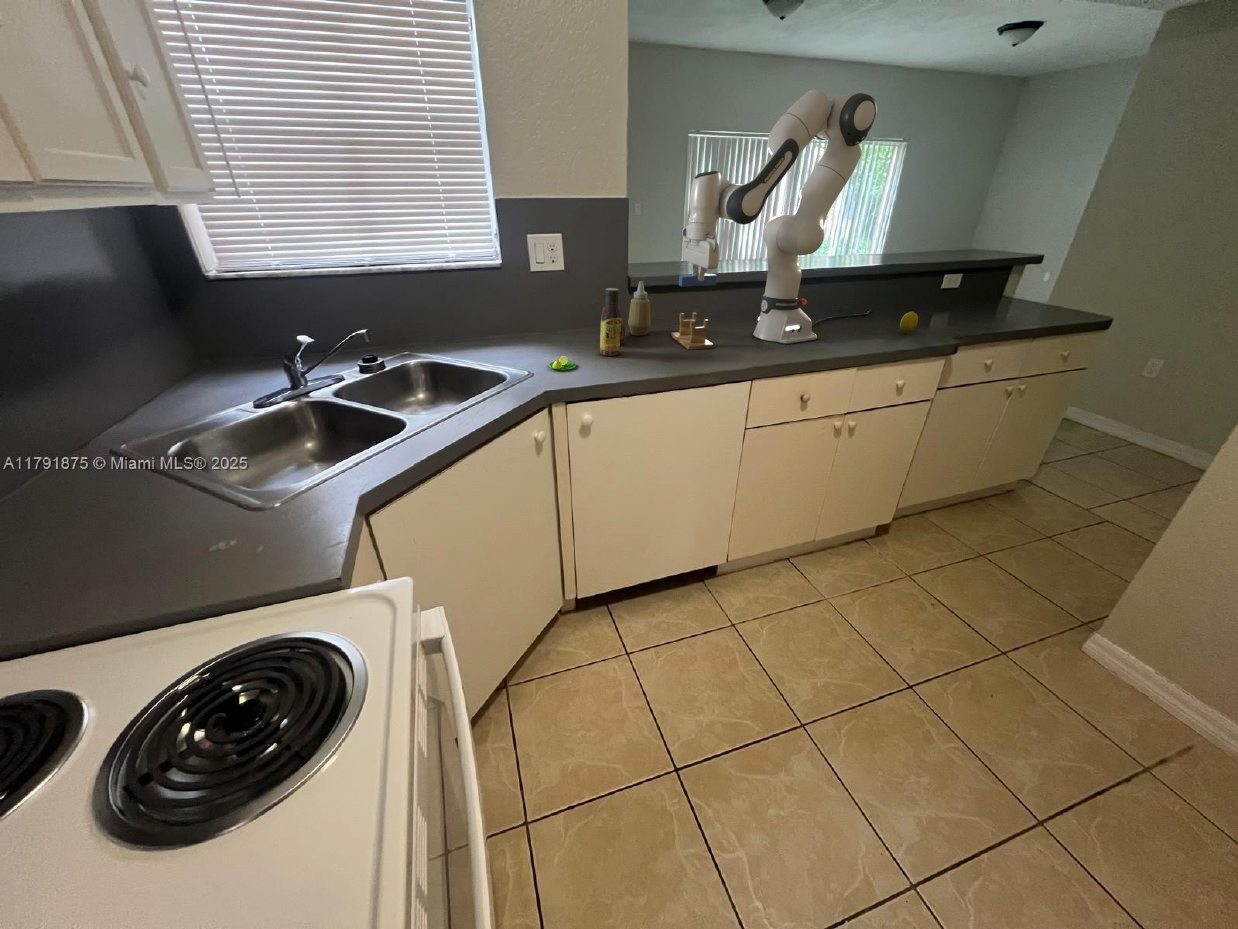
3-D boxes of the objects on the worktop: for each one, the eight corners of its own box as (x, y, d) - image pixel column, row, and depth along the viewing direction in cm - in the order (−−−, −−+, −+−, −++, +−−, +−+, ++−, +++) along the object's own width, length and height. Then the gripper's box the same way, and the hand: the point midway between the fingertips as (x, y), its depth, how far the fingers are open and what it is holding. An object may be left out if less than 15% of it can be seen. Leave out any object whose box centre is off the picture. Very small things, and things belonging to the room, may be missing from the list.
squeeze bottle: (650, 331, 178) (653, 279, 169) (649, 337, 171) (652, 284, 162) (628, 330, 179) (630, 278, 170) (626, 336, 172) (628, 283, 163)
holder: (671, 336, 174) (672, 311, 169) (694, 334, 176) (696, 310, 171) (688, 349, 160) (690, 323, 156) (713, 347, 163) (716, 321, 158)
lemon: (914, 332, 184) (921, 310, 180) (913, 335, 180) (920, 313, 176) (898, 329, 187) (905, 308, 183) (896, 333, 183) (903, 311, 179)
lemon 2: (555, 361, 148) (555, 352, 146) (579, 364, 146) (579, 355, 144) (544, 369, 141) (543, 360, 140) (569, 373, 139) (569, 363, 138)
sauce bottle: (605, 358, 151) (605, 291, 141) (596, 352, 156) (596, 287, 146) (623, 355, 154) (625, 290, 144) (614, 349, 159) (615, 286, 148)
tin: (603, 335, 172) (603, 311, 168) (611, 334, 173) (612, 310, 169) (617, 348, 160) (618, 322, 156) (626, 347, 161) (627, 321, 157)
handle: (712, 283, 160) (713, 273, 159) (715, 284, 158) (716, 275, 156) (678, 285, 157) (679, 275, 156) (681, 286, 155) (682, 276, 154)
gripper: (726, 235, 142) (721, 285, 149) (698, 229, 159) (694, 273, 166) (706, 236, 140) (702, 286, 148) (680, 229, 157) (677, 274, 164)
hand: (697, 279), depth 157 cm, fingers closed on handle, 2 cm apart
